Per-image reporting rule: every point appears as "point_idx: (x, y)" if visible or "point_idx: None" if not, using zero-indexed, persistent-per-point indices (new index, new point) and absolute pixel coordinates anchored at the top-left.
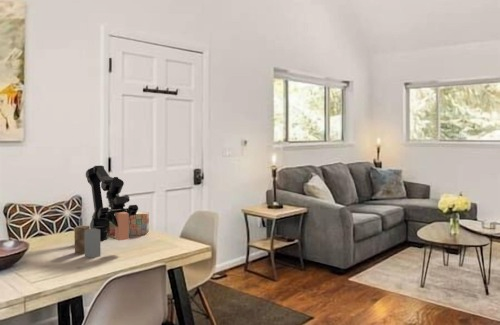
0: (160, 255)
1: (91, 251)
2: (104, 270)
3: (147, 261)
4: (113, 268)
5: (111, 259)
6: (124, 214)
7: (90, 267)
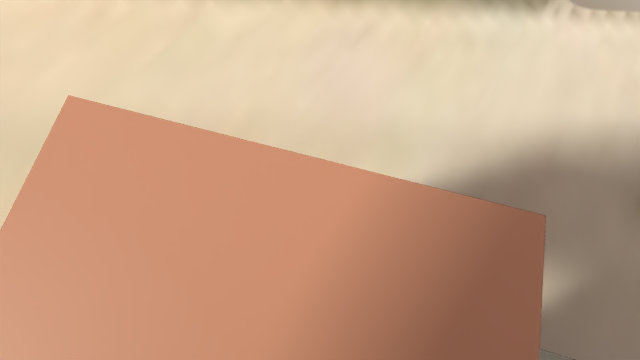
0: (165, 44)
1: (549, 353)
2: (553, 55)
3: (305, 12)
4: (504, 48)
5: None
6: (273, 156)
7: (592, 152)
